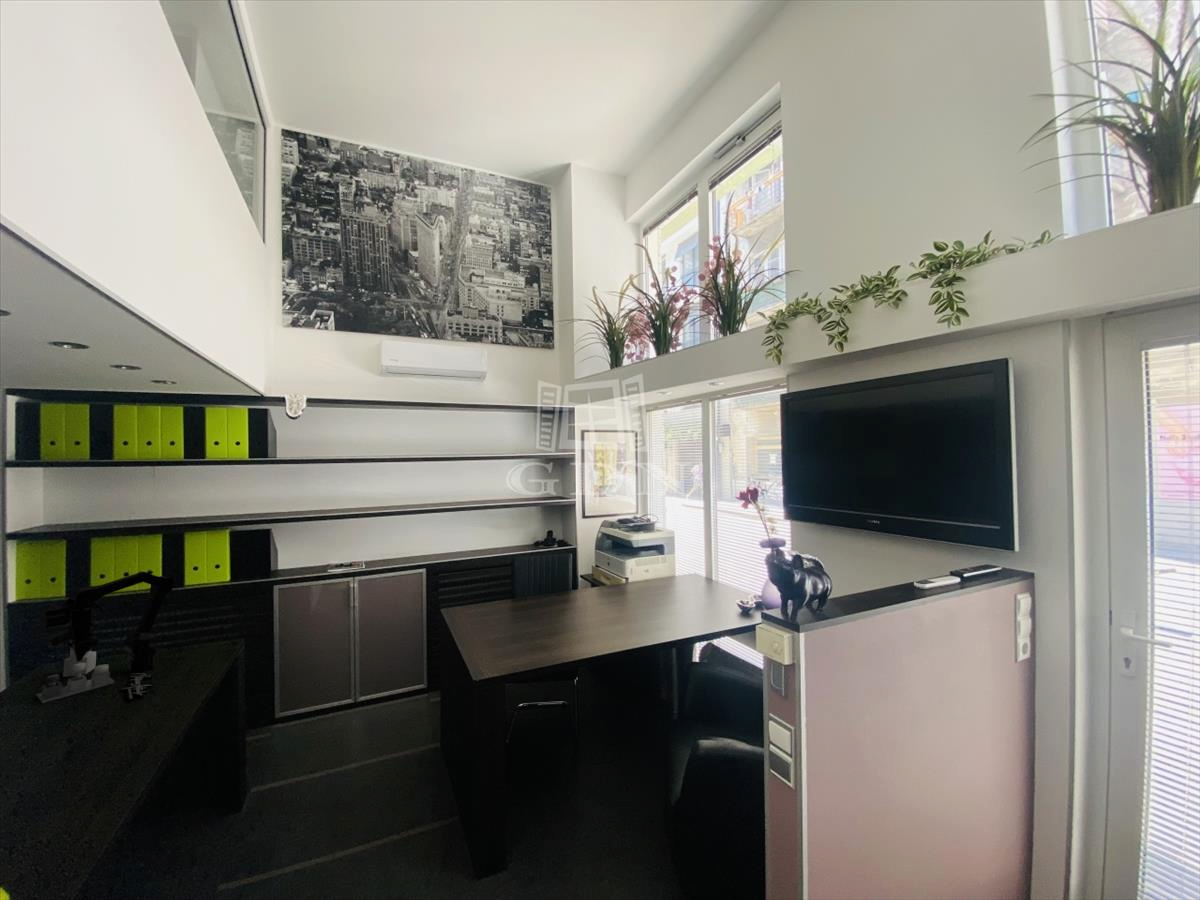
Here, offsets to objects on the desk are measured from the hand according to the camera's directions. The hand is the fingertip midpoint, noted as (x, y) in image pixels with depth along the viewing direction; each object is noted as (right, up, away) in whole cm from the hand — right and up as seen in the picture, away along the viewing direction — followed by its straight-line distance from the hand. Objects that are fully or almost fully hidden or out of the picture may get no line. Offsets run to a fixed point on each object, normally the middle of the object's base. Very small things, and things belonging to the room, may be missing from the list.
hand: (78, 660), depth 183 cm
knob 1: (0, -7, 0) cm, 7 cm away
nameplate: (+20, -13, +3) cm, 24 cm away
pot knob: (-4, -7, -6) cm, 10 cm away
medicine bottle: (-15, -11, +13) cm, 23 cm away
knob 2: (+3, -10, +5) cm, 12 cm away
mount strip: (0, -11, 0) cm, 11 cm away
